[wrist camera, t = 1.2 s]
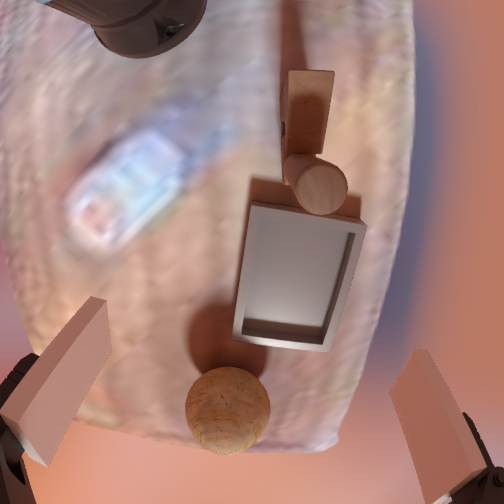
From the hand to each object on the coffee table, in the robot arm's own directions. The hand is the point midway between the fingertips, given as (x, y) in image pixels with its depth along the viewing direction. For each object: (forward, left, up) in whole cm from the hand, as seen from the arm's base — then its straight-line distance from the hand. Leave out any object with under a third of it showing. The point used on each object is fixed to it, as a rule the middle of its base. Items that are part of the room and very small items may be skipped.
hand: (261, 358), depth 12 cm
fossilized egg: (+29, -1, -28) cm, 40 cm away
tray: (+9, +5, -28) cm, 30 cm away
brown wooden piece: (-9, +2, -28) cm, 30 cm away
